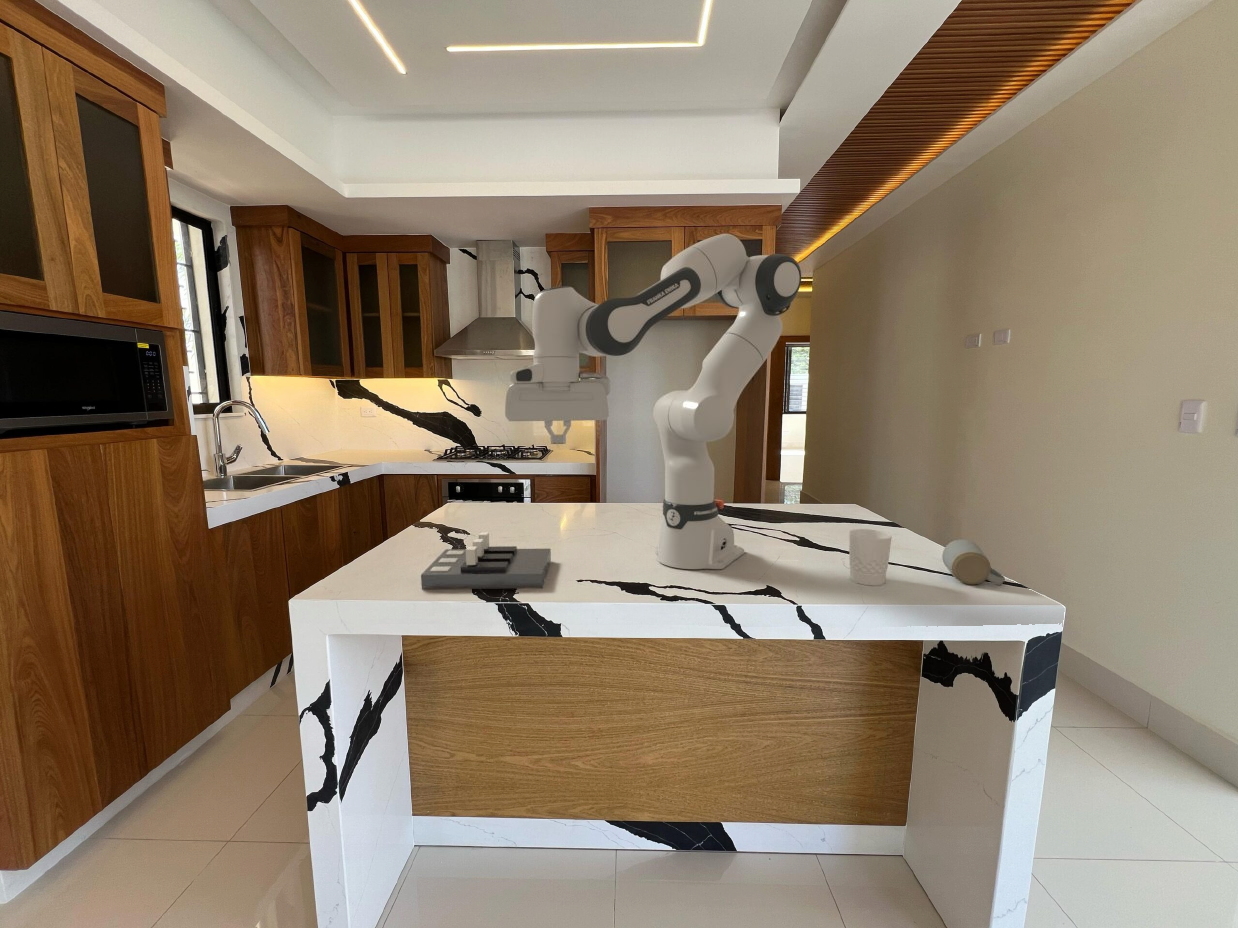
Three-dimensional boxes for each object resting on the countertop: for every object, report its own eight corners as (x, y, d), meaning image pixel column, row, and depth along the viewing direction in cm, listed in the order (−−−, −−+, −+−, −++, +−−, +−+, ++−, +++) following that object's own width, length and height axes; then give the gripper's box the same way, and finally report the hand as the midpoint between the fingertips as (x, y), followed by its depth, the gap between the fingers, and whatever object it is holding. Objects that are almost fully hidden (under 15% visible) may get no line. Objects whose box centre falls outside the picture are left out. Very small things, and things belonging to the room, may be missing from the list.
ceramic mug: (950, 584, 113) (954, 547, 111) (940, 571, 120) (943, 537, 119) (1010, 591, 109) (1015, 553, 108) (996, 577, 117) (1000, 542, 116)
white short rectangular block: (489, 545, 125) (488, 532, 124) (487, 548, 123) (486, 534, 122) (481, 545, 125) (480, 532, 124) (479, 548, 122) (478, 534, 122)
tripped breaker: (477, 561, 114) (477, 546, 113) (475, 564, 112) (474, 549, 111) (469, 561, 114) (468, 546, 113) (466, 564, 112) (465, 549, 111)
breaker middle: (483, 553, 119) (483, 538, 119) (481, 556, 117) (481, 541, 117) (475, 553, 119) (475, 538, 119) (473, 556, 117) (472, 541, 117)
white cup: (877, 590, 109) (881, 541, 108) (839, 579, 115) (842, 533, 114) (894, 580, 115) (898, 534, 113) (857, 571, 120) (860, 526, 119)
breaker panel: (550, 561, 127) (550, 544, 127) (542, 587, 111) (541, 568, 110) (446, 561, 127) (445, 545, 126) (421, 589, 110) (420, 569, 110)
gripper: (609, 373, 111) (610, 441, 113) (507, 373, 110) (510, 442, 112) (610, 372, 104) (610, 445, 107) (501, 373, 104) (504, 446, 106)
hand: (558, 443), depth 109 cm, fingers closed
